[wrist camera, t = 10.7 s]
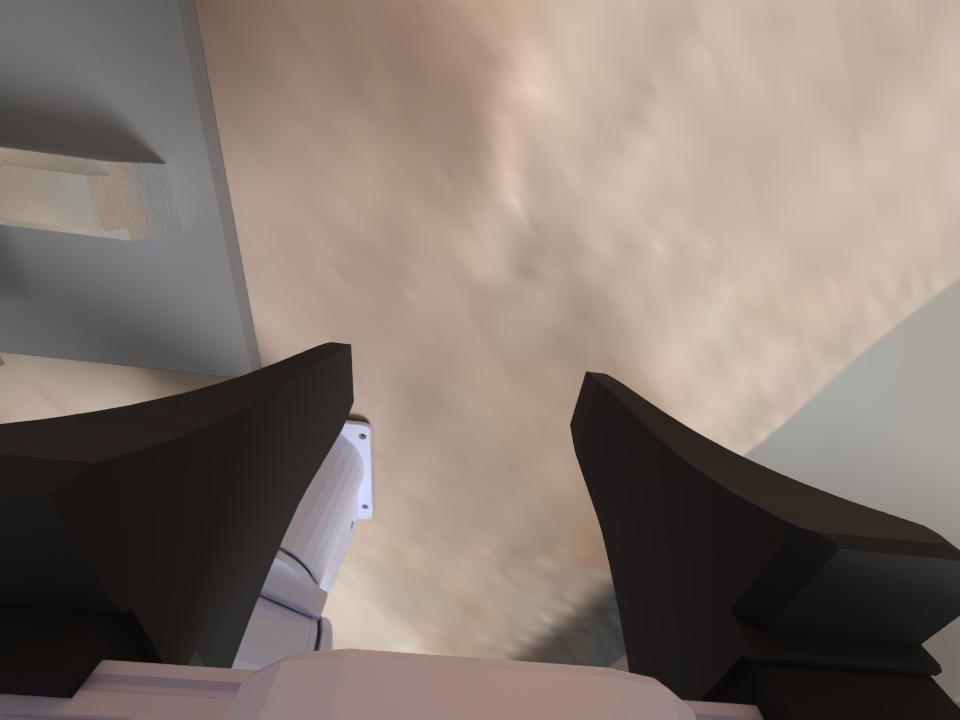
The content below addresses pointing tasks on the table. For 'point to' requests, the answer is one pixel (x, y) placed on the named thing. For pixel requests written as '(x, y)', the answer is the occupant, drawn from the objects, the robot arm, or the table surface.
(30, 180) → the metal ridge
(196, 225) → the base plate
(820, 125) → the table surface
